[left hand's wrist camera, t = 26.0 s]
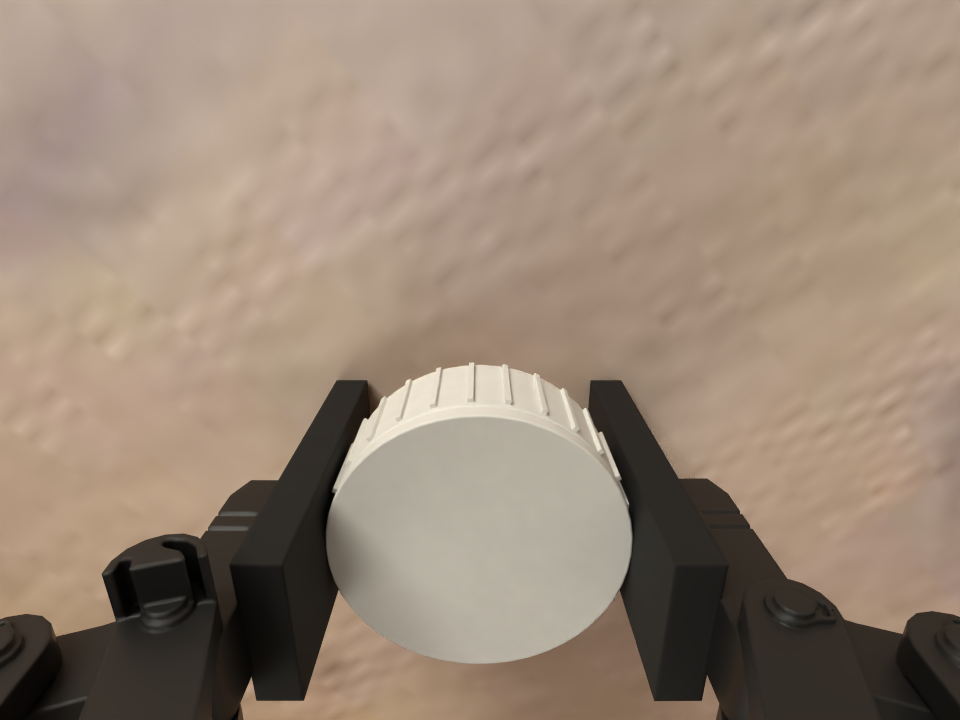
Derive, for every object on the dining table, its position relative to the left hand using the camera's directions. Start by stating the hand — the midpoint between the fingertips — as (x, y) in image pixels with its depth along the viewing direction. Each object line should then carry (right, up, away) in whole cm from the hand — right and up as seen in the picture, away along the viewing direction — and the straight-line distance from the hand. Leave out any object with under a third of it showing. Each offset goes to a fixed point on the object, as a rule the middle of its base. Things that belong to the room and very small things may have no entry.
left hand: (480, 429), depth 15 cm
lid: (0, -2, -4) cm, 4 cm away
